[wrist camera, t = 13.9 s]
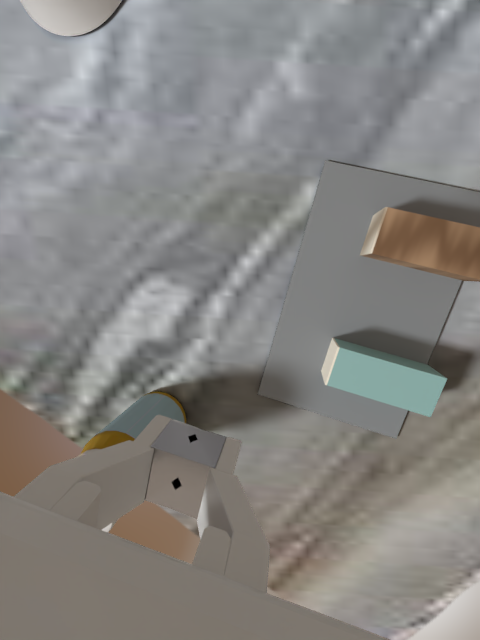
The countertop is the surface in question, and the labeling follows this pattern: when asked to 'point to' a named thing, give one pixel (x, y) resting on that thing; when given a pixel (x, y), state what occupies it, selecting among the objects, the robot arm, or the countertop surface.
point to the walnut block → (424, 244)
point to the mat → (359, 292)
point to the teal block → (382, 377)
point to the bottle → (135, 423)
